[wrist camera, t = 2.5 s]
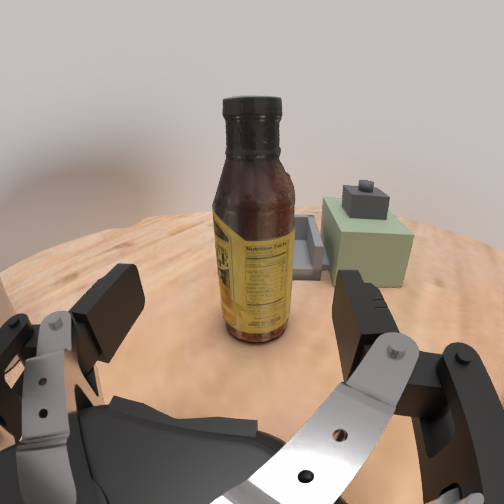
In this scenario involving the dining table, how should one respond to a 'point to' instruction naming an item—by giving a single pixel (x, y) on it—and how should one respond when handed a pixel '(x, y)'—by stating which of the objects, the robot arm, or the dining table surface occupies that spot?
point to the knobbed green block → (353, 239)
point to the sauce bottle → (254, 221)
